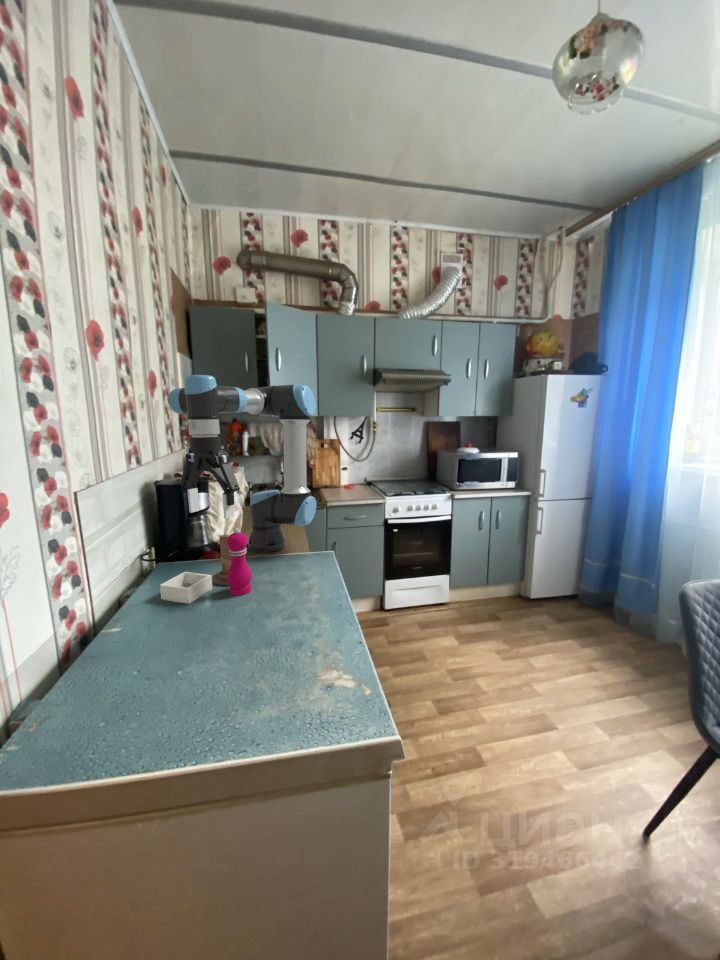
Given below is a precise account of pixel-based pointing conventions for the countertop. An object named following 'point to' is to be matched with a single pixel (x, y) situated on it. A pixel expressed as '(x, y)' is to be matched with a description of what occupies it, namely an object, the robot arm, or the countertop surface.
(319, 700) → the countertop surface
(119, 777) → the countertop surface
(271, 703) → the countertop surface
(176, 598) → the white storage tray
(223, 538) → the brown wooden block
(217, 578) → the holder
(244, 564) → the pepper mill
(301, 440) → the robot arm
